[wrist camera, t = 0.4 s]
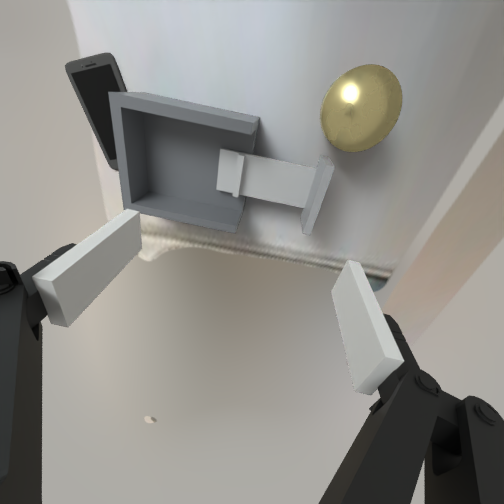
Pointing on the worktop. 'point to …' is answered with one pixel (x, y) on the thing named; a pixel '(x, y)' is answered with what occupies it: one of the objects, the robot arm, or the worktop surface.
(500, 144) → the worktop surface
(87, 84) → the cell phone
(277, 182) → the grey i-beam
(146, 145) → the box
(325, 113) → the disc
